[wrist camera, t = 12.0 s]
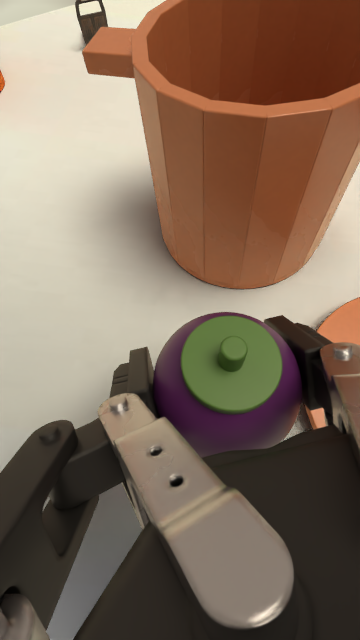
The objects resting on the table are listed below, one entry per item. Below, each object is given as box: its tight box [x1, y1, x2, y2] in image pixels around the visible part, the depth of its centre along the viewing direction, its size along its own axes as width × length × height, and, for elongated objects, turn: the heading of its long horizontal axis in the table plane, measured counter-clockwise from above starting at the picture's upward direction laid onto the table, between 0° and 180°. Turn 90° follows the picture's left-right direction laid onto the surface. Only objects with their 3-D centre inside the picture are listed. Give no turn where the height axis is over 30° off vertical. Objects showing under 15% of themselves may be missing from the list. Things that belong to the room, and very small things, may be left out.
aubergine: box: [153, 312, 302, 458], centre depth 12 cm, size 5×5×10 cm
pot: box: [82, 0, 360, 289], centre depth 19 cm, size 11×17×12 cm
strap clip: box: [75, 0, 108, 44], centre depth 35 cm, size 8×3×4 cm, turn 14°
